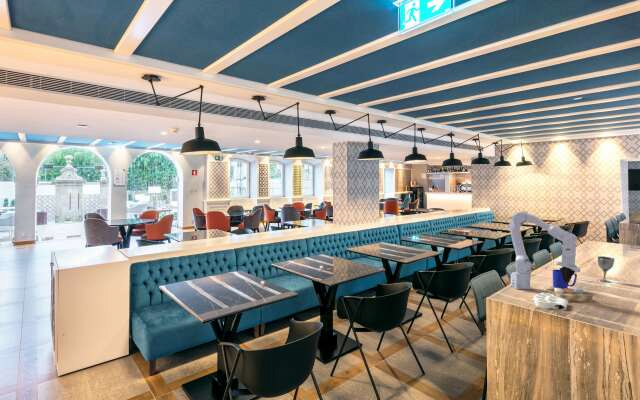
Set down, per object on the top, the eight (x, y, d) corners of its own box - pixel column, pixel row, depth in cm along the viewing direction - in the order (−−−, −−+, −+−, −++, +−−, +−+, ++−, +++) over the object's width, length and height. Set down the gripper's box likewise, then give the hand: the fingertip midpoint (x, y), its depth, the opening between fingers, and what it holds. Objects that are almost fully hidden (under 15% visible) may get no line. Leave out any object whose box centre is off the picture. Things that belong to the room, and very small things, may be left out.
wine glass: (599, 281, 205) (600, 258, 205) (594, 278, 213) (595, 255, 212) (615, 283, 202) (616, 259, 202) (609, 280, 210) (611, 257, 209)
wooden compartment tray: (559, 300, 169) (559, 294, 169) (545, 294, 179) (546, 288, 179) (592, 301, 169) (592, 295, 168) (576, 294, 179) (577, 289, 178)
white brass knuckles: (564, 313, 152) (528, 305, 162) (568, 304, 166) (534, 296, 175) (565, 306, 152) (528, 298, 162) (569, 297, 165) (534, 290, 175)
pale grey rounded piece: (557, 295, 172) (558, 289, 171) (552, 293, 176) (552, 287, 175) (565, 296, 172) (565, 290, 171) (559, 293, 176) (560, 287, 175)
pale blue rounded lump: (577, 296, 172) (577, 290, 171) (571, 293, 176) (572, 288, 175) (585, 296, 172) (585, 290, 171) (579, 294, 176) (579, 288, 175)
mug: (579, 291, 184) (580, 274, 184) (555, 289, 187) (556, 272, 186) (571, 287, 192) (572, 270, 192) (548, 285, 195) (549, 268, 194)
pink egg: (567, 296, 172) (567, 290, 171) (561, 293, 176) (562, 287, 175) (575, 296, 172) (575, 290, 171) (569, 293, 176) (569, 287, 175)
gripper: (587, 260, 166) (585, 286, 167) (566, 253, 181) (564, 278, 182) (573, 259, 166) (571, 285, 167) (553, 253, 181) (551, 277, 182)
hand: (566, 281), depth 174 cm, fingers closed
